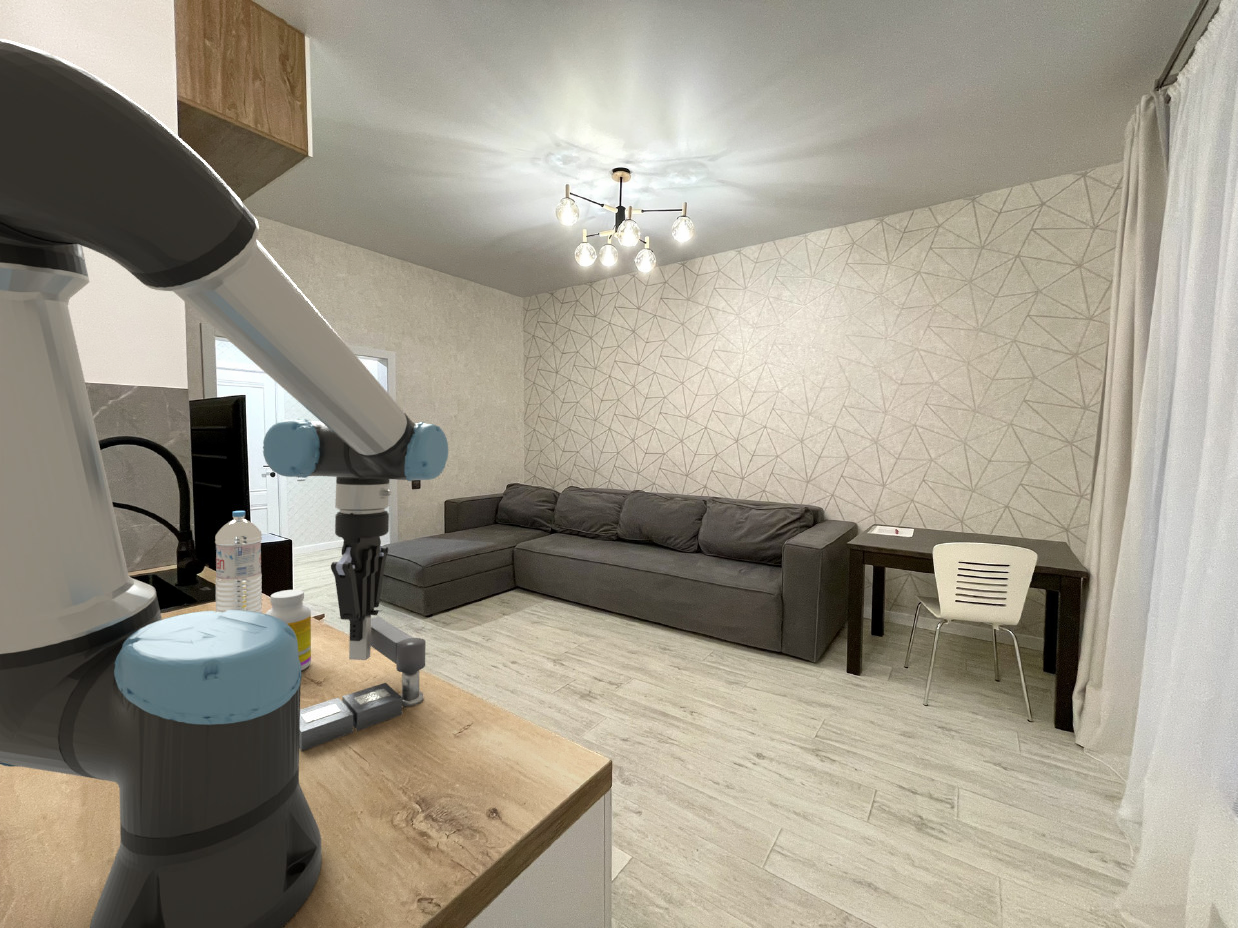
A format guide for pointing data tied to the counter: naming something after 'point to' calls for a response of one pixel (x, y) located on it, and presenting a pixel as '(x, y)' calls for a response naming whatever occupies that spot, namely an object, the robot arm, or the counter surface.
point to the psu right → (373, 705)
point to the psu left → (324, 723)
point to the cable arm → (398, 646)
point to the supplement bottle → (294, 620)
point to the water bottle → (238, 566)
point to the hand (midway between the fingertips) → (359, 657)
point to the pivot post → (411, 689)
